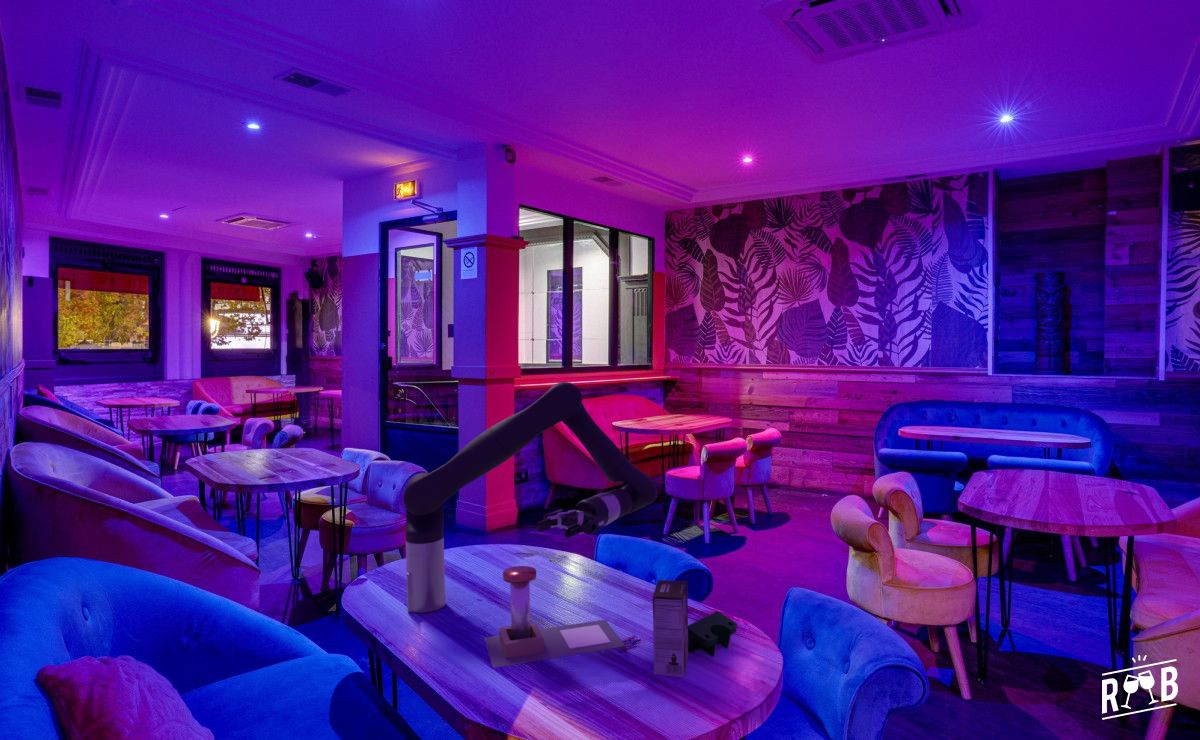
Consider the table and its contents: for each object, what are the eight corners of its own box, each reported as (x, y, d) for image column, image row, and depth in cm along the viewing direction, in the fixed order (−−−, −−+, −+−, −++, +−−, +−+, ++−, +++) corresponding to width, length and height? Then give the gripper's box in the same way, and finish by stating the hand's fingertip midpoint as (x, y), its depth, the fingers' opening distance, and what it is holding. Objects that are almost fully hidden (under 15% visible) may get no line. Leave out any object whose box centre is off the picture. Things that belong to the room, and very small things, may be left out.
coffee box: (658, 653, 138) (657, 578, 137) (688, 656, 137) (688, 580, 136) (653, 675, 129) (652, 595, 128) (685, 678, 128) (684, 597, 127)
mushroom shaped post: (507, 657, 134) (505, 579, 134) (502, 642, 141) (500, 568, 140) (541, 651, 136) (539, 575, 136) (534, 637, 143) (532, 564, 142)
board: (493, 675, 130) (492, 653, 130) (483, 644, 143) (483, 624, 143) (625, 653, 138) (625, 632, 138) (605, 625, 152) (605, 606, 151)
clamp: (705, 676, 137) (702, 647, 132) (683, 660, 141) (680, 631, 137) (740, 639, 143) (738, 611, 139) (718, 625, 147) (716, 597, 143)
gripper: (574, 492, 162) (527, 510, 150) (620, 499, 153) (574, 518, 141) (576, 522, 163) (530, 541, 150) (622, 530, 154) (576, 552, 141)
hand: (551, 530), depth 146 cm, fingers open, 8 cm apart
